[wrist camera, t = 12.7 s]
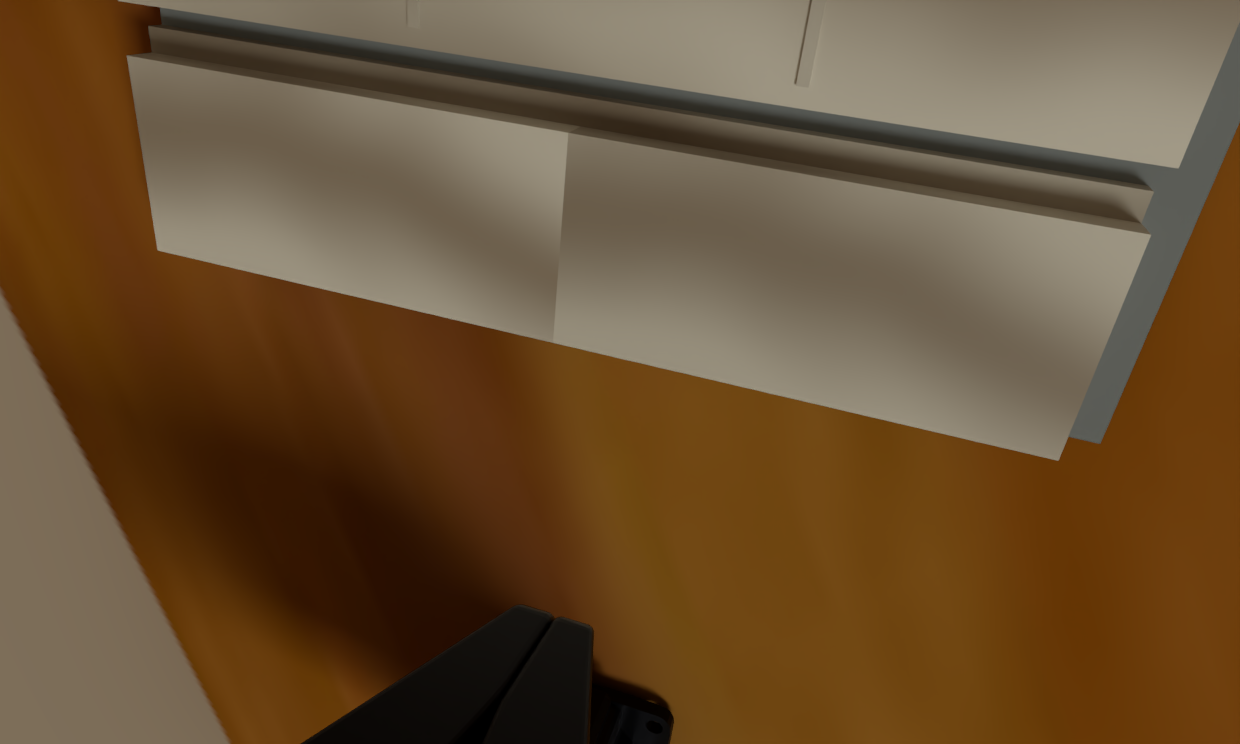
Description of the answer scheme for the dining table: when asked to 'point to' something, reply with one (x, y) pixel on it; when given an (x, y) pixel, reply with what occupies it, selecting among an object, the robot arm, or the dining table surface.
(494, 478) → the dining table surface
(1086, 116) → the plank
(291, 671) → the dining table surface
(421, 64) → the underlay mat
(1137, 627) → the dining table surface
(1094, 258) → the floor row
